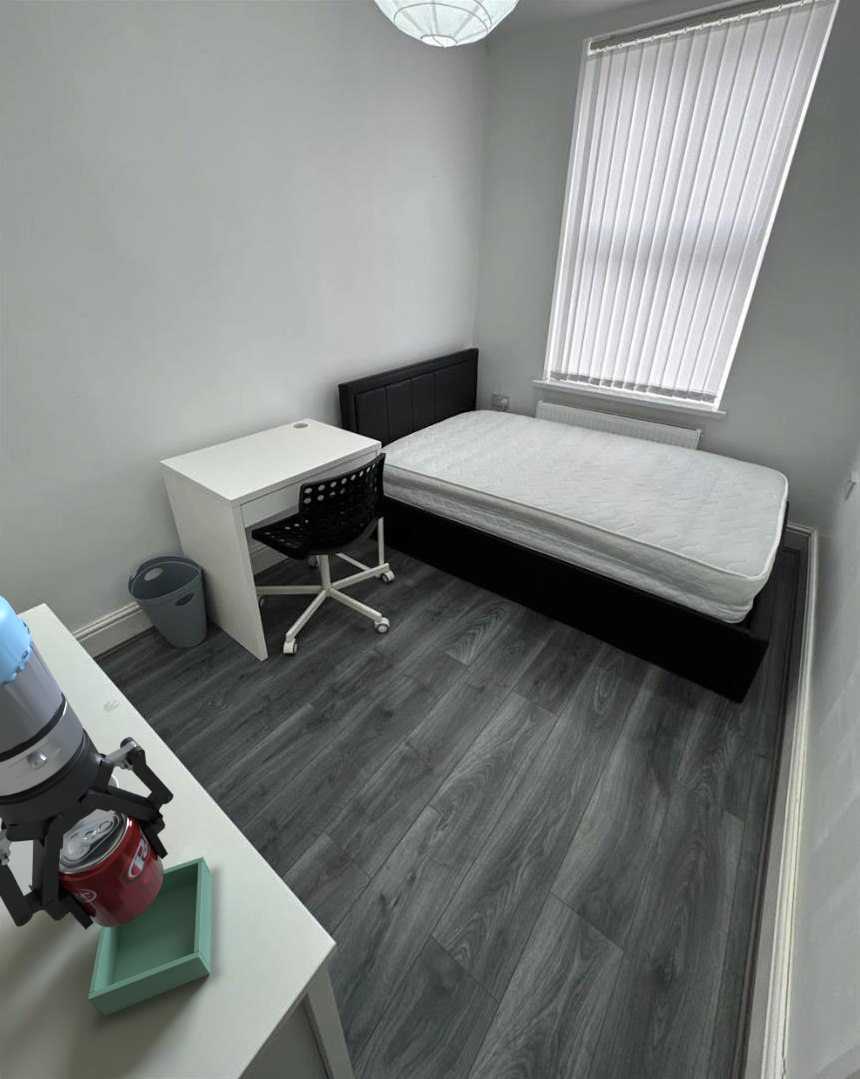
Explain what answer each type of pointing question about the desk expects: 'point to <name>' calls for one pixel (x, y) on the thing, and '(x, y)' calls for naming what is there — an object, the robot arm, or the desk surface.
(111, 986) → the teal square tray
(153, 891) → the soda can
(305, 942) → the desk surface
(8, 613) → the robot arm
